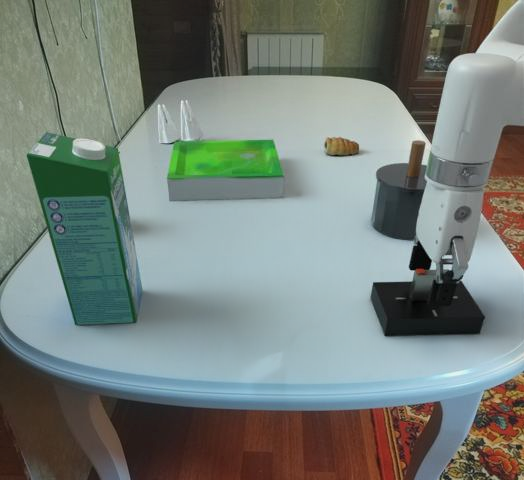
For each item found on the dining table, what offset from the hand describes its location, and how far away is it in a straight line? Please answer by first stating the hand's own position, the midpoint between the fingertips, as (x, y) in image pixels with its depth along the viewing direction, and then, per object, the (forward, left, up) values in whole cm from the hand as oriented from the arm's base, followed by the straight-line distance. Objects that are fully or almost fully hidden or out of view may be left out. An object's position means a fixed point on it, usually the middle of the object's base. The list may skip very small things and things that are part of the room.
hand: (428, 286), depth 74 cm
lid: (-5, -31, +4) cm, 32 cm away
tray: (+31, -58, -5) cm, 66 cm away
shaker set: (+44, -86, -5) cm, 97 cm away
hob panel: (0, 0, -5) cm, 5 cm away
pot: (-5, -31, -5) cm, 32 cm away
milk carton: (+48, -4, -5) cm, 48 cm away
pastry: (+1, -76, -5) cm, 76 cm away
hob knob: (0, 0, -2) cm, 2 cm away
